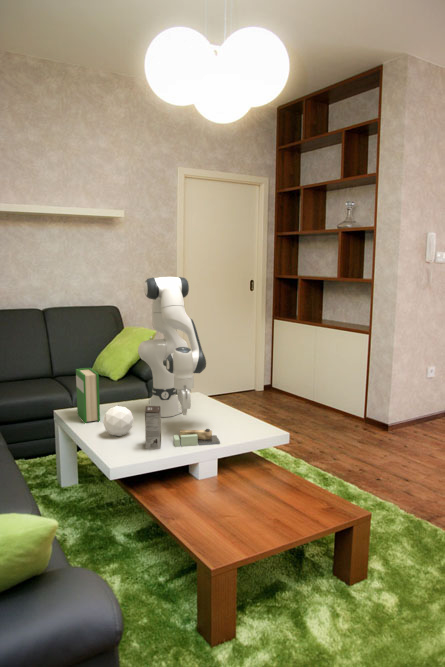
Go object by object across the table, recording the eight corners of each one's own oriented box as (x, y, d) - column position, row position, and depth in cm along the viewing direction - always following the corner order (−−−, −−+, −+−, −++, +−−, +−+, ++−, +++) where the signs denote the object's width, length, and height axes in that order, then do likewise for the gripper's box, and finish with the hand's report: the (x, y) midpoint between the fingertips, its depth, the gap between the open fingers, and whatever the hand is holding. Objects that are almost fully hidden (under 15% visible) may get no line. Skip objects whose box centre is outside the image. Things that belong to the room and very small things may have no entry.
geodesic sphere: (99, 418, 245) (101, 399, 236) (128, 414, 250) (132, 396, 241) (104, 443, 236) (106, 424, 227) (134, 439, 241) (138, 421, 232)
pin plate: (196, 438, 233) (196, 436, 233) (216, 437, 234) (216, 435, 234) (199, 445, 224) (198, 442, 224) (219, 443, 226) (219, 441, 226)
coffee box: (146, 442, 228) (145, 405, 226) (161, 441, 229) (160, 405, 227) (145, 449, 219) (144, 411, 217) (160, 448, 220) (160, 411, 218)
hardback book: (100, 421, 259) (98, 373, 256) (84, 423, 256) (83, 375, 253) (91, 413, 275) (90, 367, 272) (77, 414, 272) (75, 368, 269)
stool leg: (212, 437, 231) (212, 428, 230) (211, 439, 227) (211, 430, 227) (180, 436, 231) (180, 428, 231) (179, 439, 227) (179, 430, 227)
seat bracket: (173, 441, 228) (173, 432, 228) (195, 440, 230) (195, 431, 230) (174, 446, 222) (174, 437, 222) (197, 445, 224) (197, 436, 224)
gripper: (193, 388, 226) (194, 419, 227) (188, 379, 246) (188, 408, 247) (179, 388, 224) (179, 420, 226) (174, 380, 244) (175, 409, 246)
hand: (184, 414), depth 237 cm, fingers closed
